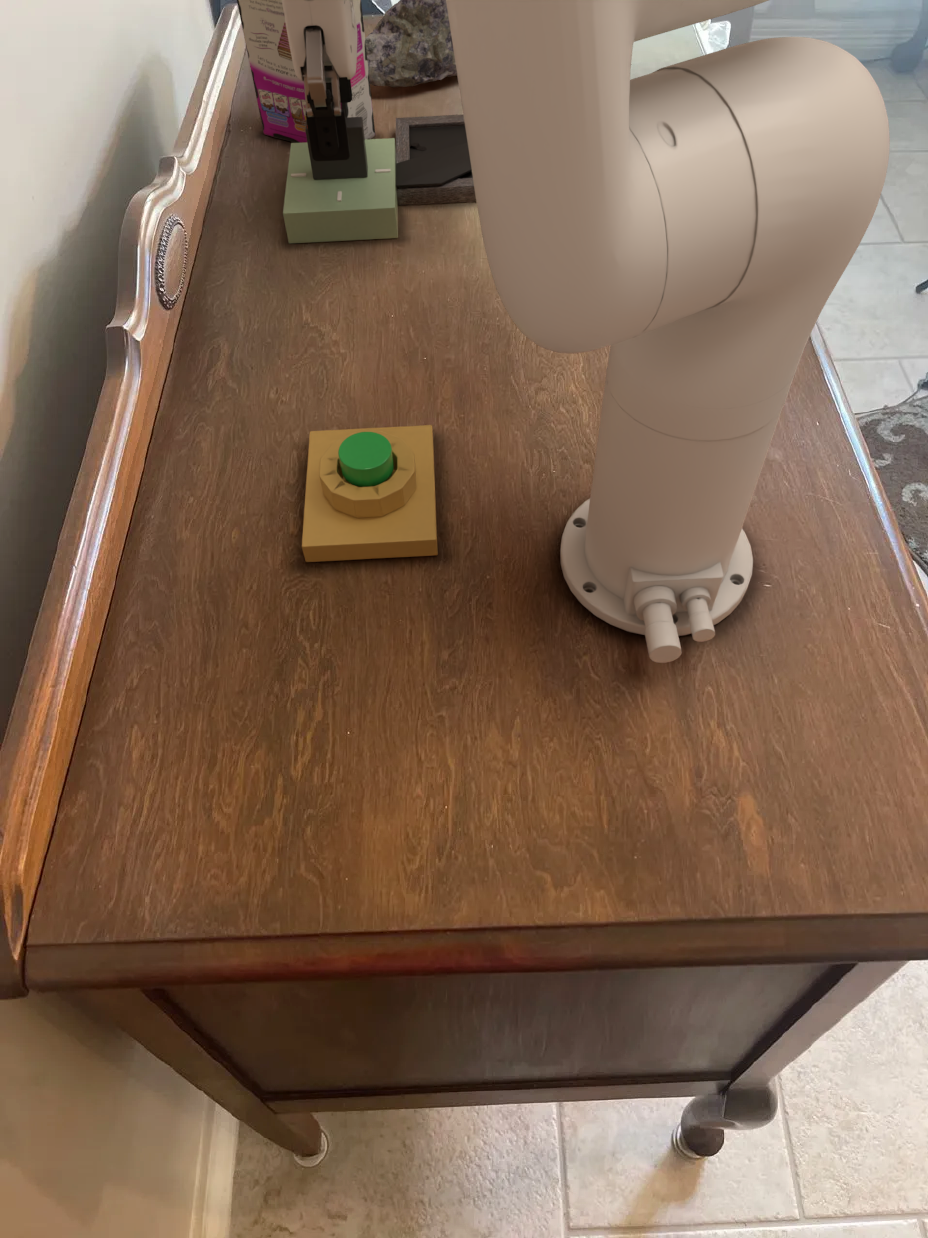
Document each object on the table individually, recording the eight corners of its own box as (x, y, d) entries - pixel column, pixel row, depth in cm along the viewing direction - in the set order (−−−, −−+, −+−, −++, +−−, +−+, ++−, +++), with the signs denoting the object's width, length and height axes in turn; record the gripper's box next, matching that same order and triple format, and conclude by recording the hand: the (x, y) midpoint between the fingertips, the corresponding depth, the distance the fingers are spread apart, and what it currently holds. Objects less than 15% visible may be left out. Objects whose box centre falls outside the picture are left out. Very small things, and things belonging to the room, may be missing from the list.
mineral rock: (363, 100, 99) (351, -5, 91) (367, 54, 105) (356, -49, 97) (483, 96, 99) (482, -10, 90) (479, 49, 105) (478, -54, 97)
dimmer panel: (398, 238, 84) (395, 205, 81) (288, 243, 84) (282, 211, 81) (397, 167, 91) (394, 135, 88) (296, 172, 91) (290, 140, 88)
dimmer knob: (367, 166, 85) (361, 113, 82) (367, 177, 84) (361, 123, 80) (314, 169, 85) (305, 116, 82) (313, 179, 84) (304, 126, 80)
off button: (394, 486, 62) (391, 467, 61) (340, 488, 62) (337, 470, 61) (393, 448, 64) (391, 429, 63) (342, 451, 64) (338, 432, 63)
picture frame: (397, 205, 87) (587, 195, 87) (396, 185, 85) (588, 175, 86) (397, 133, 95) (571, 124, 95) (395, 113, 93) (572, 104, 93)
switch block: (437, 555, 63) (435, 521, 60) (305, 562, 62) (296, 528, 60) (433, 441, 69) (430, 405, 66) (313, 447, 69) (305, 412, 66)
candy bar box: (378, 135, 95) (359, -51, 81) (352, 159, 92) (329, -30, 79) (288, 112, 98) (255, -71, 84) (261, 134, 95) (223, -51, 82)
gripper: (349, -59, 63) (374, 181, 77) (355, -148, 73) (376, 79, 87) (240, -54, 63) (285, 185, 77) (260, -144, 73) (296, 83, 87)
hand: (333, 129), depth 82 cm, fingers open, 9 cm apart
